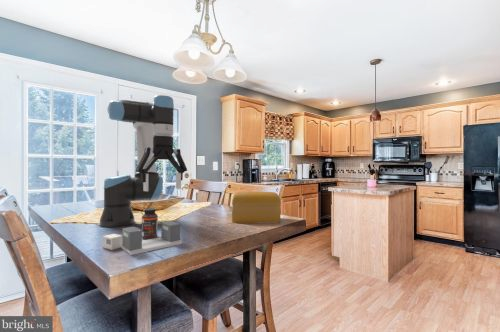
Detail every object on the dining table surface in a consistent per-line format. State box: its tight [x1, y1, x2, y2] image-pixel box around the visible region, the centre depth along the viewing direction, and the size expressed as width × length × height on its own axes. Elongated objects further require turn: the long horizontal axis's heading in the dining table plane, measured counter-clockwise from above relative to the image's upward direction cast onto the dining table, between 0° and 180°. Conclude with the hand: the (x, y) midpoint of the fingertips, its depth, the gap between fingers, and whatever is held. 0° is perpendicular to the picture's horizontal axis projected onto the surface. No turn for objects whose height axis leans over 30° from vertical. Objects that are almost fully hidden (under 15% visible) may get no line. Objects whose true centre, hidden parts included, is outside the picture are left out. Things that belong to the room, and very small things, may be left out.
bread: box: [231, 191, 281, 224], centre depth 137 cm, size 24×13×15 cm, turn 92°
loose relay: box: [102, 233, 122, 251], centre depth 92 cm, size 5×4×4 cm
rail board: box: [120, 220, 183, 256], centre depth 94 cm, size 10×18×7 cm, turn 133°
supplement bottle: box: [141, 207, 159, 240], centre depth 104 cm, size 6×6×11 cm
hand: (162, 189), depth 103 cm, fingers open, 13 cm apart
